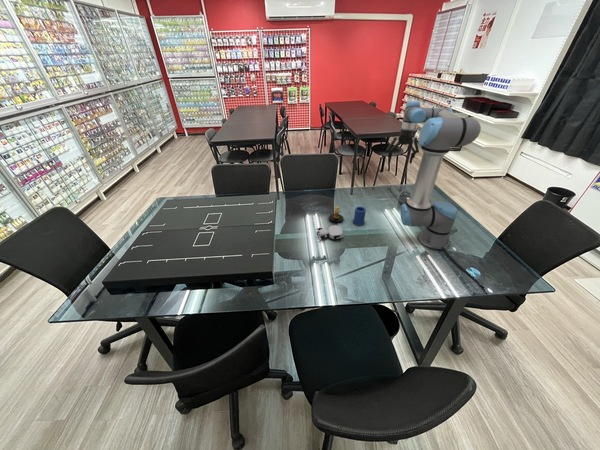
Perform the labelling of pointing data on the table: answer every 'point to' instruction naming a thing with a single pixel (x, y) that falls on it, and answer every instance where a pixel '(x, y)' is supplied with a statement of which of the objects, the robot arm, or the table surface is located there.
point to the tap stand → (336, 217)
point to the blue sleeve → (359, 216)
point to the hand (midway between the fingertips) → (399, 162)
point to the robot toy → (330, 232)
